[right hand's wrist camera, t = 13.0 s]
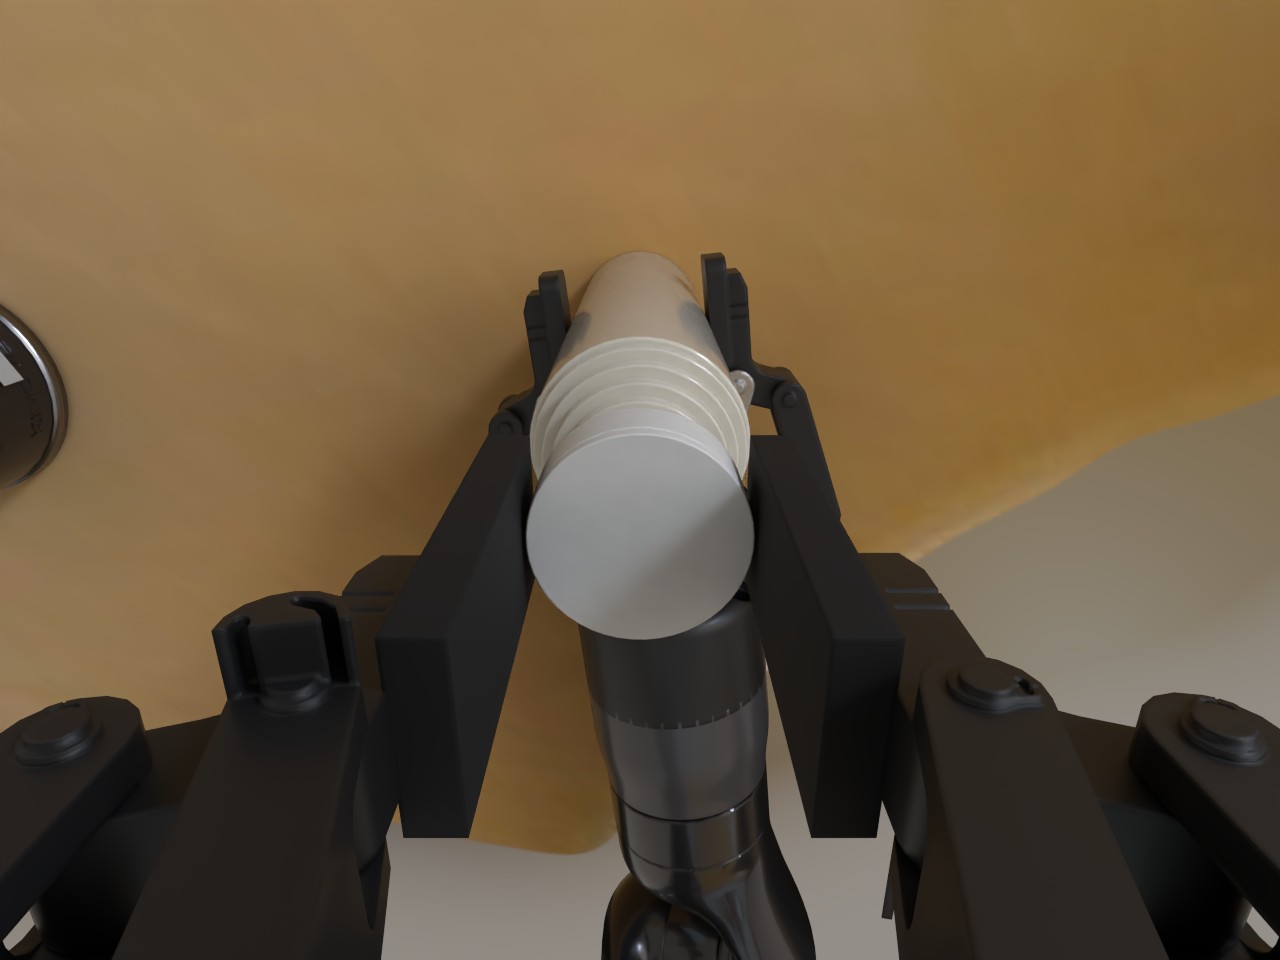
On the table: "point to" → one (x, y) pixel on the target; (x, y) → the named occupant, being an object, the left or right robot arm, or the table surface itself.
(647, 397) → the bottle
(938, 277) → the table surface
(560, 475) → the cap
